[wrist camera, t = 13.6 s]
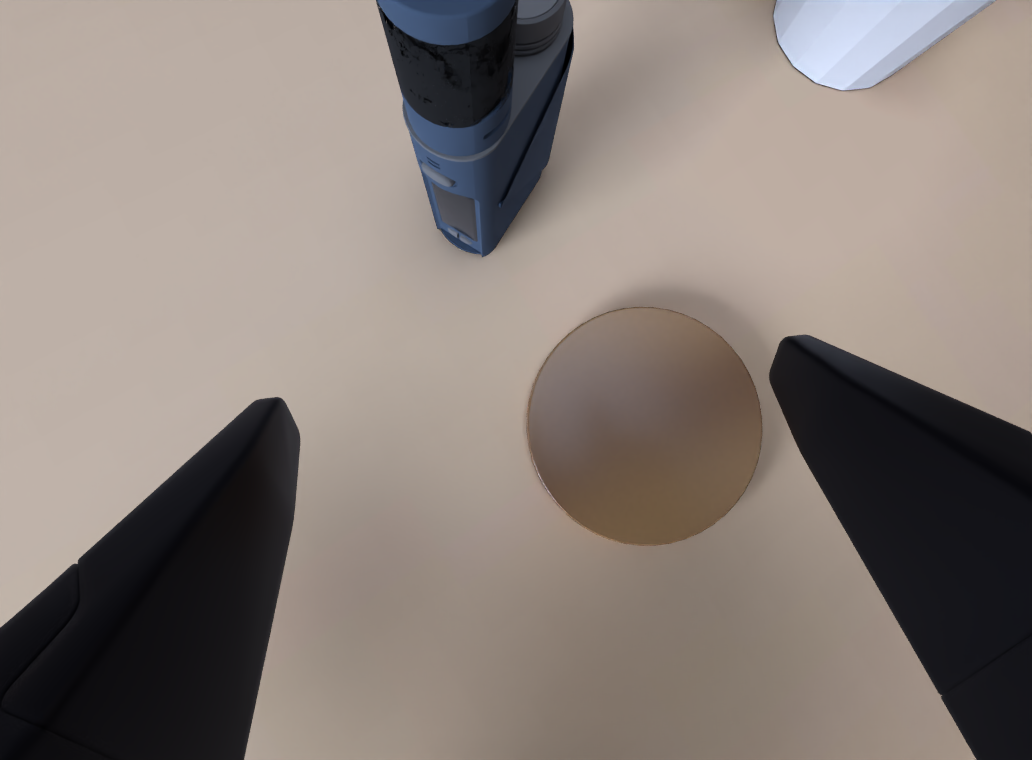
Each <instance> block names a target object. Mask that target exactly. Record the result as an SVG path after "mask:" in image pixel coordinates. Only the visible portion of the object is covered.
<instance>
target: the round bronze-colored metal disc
mask: <svg viewBox="0 0 1032 760" xmlns="http://www.w3.org/2000/svg"><path fill="white" fill-rule="evenodd" d="M527 436H528V445H529V449H530V453H531V457H532V461H533V464H534V466H535V469H536V471H537V474H538V476H539V478H540V480H541V481H542V483H543V485H544V487H545V488H546V490H547V491H548V493H549V494H550V495H551V497H552V498H553V499H554V501H555V502H556V503H557V504H558V506H559V507H560V508H561V509H562V510H563V511H564V512H565V513H566V514H567V515H568V516H570V517H571V518H572V519H573V520H575V521H576V522H577V523H578V524H580V525H581V526H583V527H585V528H586V529H588V530H590V531H591V532H593V533H595V534H597V535H600V536H602V537H604V538H607V539H609V540H613V541H617V542H620V543H624V544H632V545H639V546H655V545H662V544H669V543H673V542H677V541H681V540H684V539H687V538H689V537H691V536H694V535H696V534H698V533H700V532H702V531H704V530H705V529H707V528H709V527H710V526H712V525H713V524H715V523H716V522H717V521H718V520H720V519H721V518H722V517H723V516H725V515H726V514H727V512H728V511H729V510H730V509H731V508H732V507H733V506H734V505H735V504H736V503H737V501H738V500H739V498H740V497H741V496H742V494H743V493H744V491H745V490H746V488H747V486H748V484H749V482H750V480H751V478H752V476H753V473H754V471H755V468H756V465H757V462H758V458H759V454H760V449H761V441H762V415H761V408H760V402H759V399H758V395H757V392H756V388H755V386H754V383H753V381H752V379H751V376H750V374H749V372H748V370H747V369H746V367H745V365H744V364H743V362H742V360H741V359H740V358H739V356H738V355H737V354H736V352H735V351H734V350H733V348H732V347H731V346H730V345H729V344H728V343H727V342H726V341H725V340H724V339H723V338H722V337H721V336H719V335H718V334H717V333H716V332H714V331H713V330H712V329H710V328H709V327H707V326H706V325H704V324H702V323H701V322H699V321H697V320H696V319H693V318H691V317H689V316H686V315H684V314H681V313H678V312H675V311H671V310H668V309H661V308H654V307H632V308H623V309H619V310H615V311H611V312H607V313H605V314H602V315H599V316H597V317H594V318H592V319H591V320H589V321H587V322H585V323H583V324H582V325H580V326H579V327H577V328H576V329H575V330H573V331H572V332H571V333H569V334H568V335H567V336H566V337H565V338H564V339H563V340H562V341H561V342H560V343H559V344H558V345H557V346H556V347H555V348H554V350H553V351H552V352H551V353H550V355H549V356H548V357H547V359H546V360H545V362H544V364H543V365H542V367H541V369H540V371H539V373H538V375H537V377H536V380H535V382H534V384H533V388H532V391H531V395H530V398H529V404H528V411H527Z"/></svg>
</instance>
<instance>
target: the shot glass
mask: <svg viewBox="0 0 1032 760" xmlns="http://www.w3.org/2000/svg"><path fill="white" fill-rule="evenodd" d="M995 1H996V0H777V2H776V6H775V11H774V15H773V17H774V22H775V27H776V33H777V38H778V43H779V44H780V46H781V47H782V49H783V51H784V52H785V54H786V55H787V57H788V59H789V60H790V62H791V63H792V65H793V66H794V67H795V68H797V69H798V70H799V71H801V72H802V73H803V74H805V75H806V76H807V77H809V78H810V79H811V80H813V81H814V82H815V83H818V84H821V85H825V86H828V87H832V88H835V89H839V90H843V91H844V90H853V89H862V88H870V87H872V86H874V85H875V84H877V83H879V82H881V81H882V80H884V79H886V78H888V77H889V76H891V75H893V74H894V73H896V72H897V71H898V70H900V69H901V68H903V67H904V66H905V65H907V64H908V63H910V62H911V61H912V60H914V59H915V58H917V57H918V56H919V55H921V54H922V53H924V52H925V51H926V50H928V49H929V48H931V47H932V46H933V45H935V44H936V43H938V42H939V41H940V40H942V39H943V38H945V37H946V36H947V35H949V34H950V33H952V32H953V31H954V30H956V29H957V28H959V27H960V26H961V25H963V24H964V23H966V22H967V21H968V20H970V19H971V18H973V17H974V16H975V15H977V14H978V13H980V12H981V11H982V10H984V9H985V8H986V7H988V6H989V5H991V4H992V3H993V2H995Z"/></svg>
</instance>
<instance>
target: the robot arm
mask: <svg viewBox="0 0 1032 760" xmlns="http://www.w3.org/2000/svg"><path fill="white" fill-rule="evenodd" d="M769 380H770V384H771V386H772V389H773V391H774V393H775V396H776V398H777V400H778V403H779V405H780V407H781V409H782V412H783V414H784V416H785V419H786V421H787V423H788V426H789V428H790V430H791V433H792V435H793V437H794V439H795V442H796V444H797V446H798V448H799V450H800V452H801V454H802V456H803V458H804V460H805V461H806V463H807V465H808V467H809V468H810V470H811V472H812V474H813V475H814V477H815V479H816V481H817V482H818V484H819V486H820V488H821V489H822V491H823V493H824V495H825V496H826V498H827V500H828V501H829V503H830V505H831V507H832V508H833V510H834V512H835V514H836V515H837V517H838V519H839V521H840V522H841V524H842V526H843V528H844V529H845V531H846V533H847V535H848V536H849V538H850V540H851V541H852V543H853V545H854V547H855V548H856V550H857V552H858V554H859V555H860V557H861V559H862V561H863V562H864V564H865V566H866V568H867V569H868V571H869V573H870V575H871V576H872V578H873V580H874V581H875V583H876V585H877V587H878V588H879V590H880V592H881V594H882V595H883V597H884V599H885V601H886V602H887V604H888V606H889V608H890V609H891V611H892V613H893V615H894V616H895V618H896V620H897V621H898V623H899V625H900V627H901V628H902V630H903V632H904V634H905V635H906V637H907V639H908V641H909V642H910V644H911V646H912V648H913V649H914V651H915V653H916V654H917V656H918V658H919V660H920V661H921V663H922V665H923V667H924V668H925V670H926V672H927V674H928V675H929V677H930V679H931V681H932V682H933V684H934V686H935V688H936V689H937V691H938V693H939V694H940V695H942V696H941V699H942V700H943V702H944V704H945V706H946V707H947V709H948V711H949V713H950V714H951V716H952V718H953V719H954V721H955V723H956V725H957V726H958V728H959V730H960V732H961V733H962V735H963V737H964V739H965V740H966V742H967V744H968V746H969V747H970V749H971V751H972V752H973V754H974V756H975V758H976V759H977V760H1032V434H1031V433H1030V432H1029V431H1027V430H1025V429H1022V428H1020V427H1018V426H1016V425H1013V424H1011V423H1009V422H1006V421H1004V420H1002V419H1000V418H997V417H995V416H993V415H990V414H988V413H986V412H984V411H981V410H979V409H977V408H974V407H972V406H970V405H968V404H965V403H963V402H961V401H958V400H956V399H954V398H952V397H949V396H947V395H945V394H942V393H940V392H938V391H936V390H933V389H931V388H929V387H926V386H924V385H922V384H920V383H917V382H915V381H913V380H910V379H908V378H906V377H904V376H901V375H899V374H897V373H894V372H892V371H890V370H888V369H885V368H883V367H881V366H878V365H876V364H874V363H872V362H869V361H867V360H865V359H862V358H860V357H858V356H856V355H853V354H851V353H849V352H846V351H844V350H842V349H840V348H837V347H835V346H833V345H830V344H828V343H826V342H824V341H821V340H819V339H817V338H814V337H812V336H810V335H796V336H788V337H785V338H784V339H783V340H782V341H781V342H780V344H779V347H778V349H777V352H776V355H775V358H774V360H773V363H772V366H771V369H770V373H769ZM299 452H300V434H299V430H298V428H297V425H296V423H295V421H294V419H293V417H292V415H291V413H290V411H289V409H288V407H287V405H286V403H285V401H284V400H283V399H281V398H279V397H274V398H265V399H259V400H256V401H254V402H253V403H252V404H250V405H249V406H248V407H247V408H246V409H245V410H244V411H243V412H242V413H240V414H239V415H238V416H237V417H236V418H235V419H234V420H233V421H232V422H230V423H229V424H228V425H227V426H226V427H225V428H224V429H223V430H222V431H220V432H219V433H218V434H217V435H216V436H215V437H214V438H213V439H212V440H210V441H209V442H208V443H207V444H206V445H205V446H204V447H203V448H202V449H200V450H199V451H198V452H197V453H196V454H195V455H194V456H193V457H192V458H190V459H189V460H188V461H187V462H186V463H185V464H184V465H183V466H182V467H180V468H179V469H178V470H177V471H176V472H175V473H174V474H173V475H172V476H170V477H169V478H168V479H167V480H166V481H165V482H164V483H163V484H162V485H160V486H159V487H158V488H157V489H156V490H155V491H154V492H153V493H152V494H151V495H149V496H148V497H147V498H146V499H145V500H144V501H143V502H142V503H141V504H139V505H138V506H137V507H136V508H135V509H134V510H133V511H132V512H131V513H129V514H128V515H127V516H126V517H125V518H124V519H123V520H122V521H121V522H119V523H118V524H117V525H116V526H115V527H114V528H113V529H112V530H110V531H109V532H108V533H107V534H106V535H105V536H104V537H103V538H102V539H100V540H99V541H98V542H97V543H96V544H95V545H94V546H93V547H92V548H90V549H89V550H88V551H87V552H86V553H85V554H84V555H83V556H82V557H80V558H79V560H78V564H73V565H71V566H70V567H69V568H68V569H67V570H66V571H65V572H64V573H63V574H61V575H60V576H59V577H58V578H57V579H56V580H55V581H54V582H53V583H51V584H50V585H49V586H48V587H47V588H46V589H45V590H43V591H42V592H41V593H40V594H39V595H38V596H37V597H35V598H34V599H33V600H32V601H31V602H30V603H29V604H27V605H26V606H25V607H24V608H23V609H22V610H21V611H19V612H18V613H17V614H16V615H15V616H14V617H13V618H11V619H10V620H9V621H8V622H7V623H5V624H4V625H3V626H2V627H1V628H0V760H244V757H245V752H246V747H247V742H248V738H249V733H250V728H251V723H252V718H253V714H254V709H255V704H256V699H257V694H258V690H259V685H260V680H261V675H262V670H263V666H264V661H265V656H266V651H267V646H268V642H269V637H270V632H271V627H272V622H273V618H274V613H275V608H276V603H277V598H278V594H279V589H280V584H281V579H282V574H283V570H284V565H285V560H286V555H287V550H288V546H289V541H290V536H291V531H292V526H293V520H294V511H295V501H296V489H297V477H298V464H299Z"/></svg>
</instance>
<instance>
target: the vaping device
mask: <svg viewBox="0 0 1032 760" xmlns="http://www.w3.org/2000/svg"><path fill="white" fill-rule="evenodd" d="M376 2H377V6H378V9H379V13H380V17H381V20H382V24H383V28H384V31H385V35H386V38H387V42H388V46H389V49H390V53H391V56H392V60H393V64H394V67H395V71H396V75H397V78H398V82H399V85H400V89H401V93H402V96H403V116H404V119H405V123H406V126H407V128H408V130H409V133H410V136H411V140H412V143H413V147H414V150H415V154H416V157H417V161H418V164H419V167H420V169H421V173H422V176H423V180H424V183H425V187H426V190H427V194H428V197H429V201H430V204H431V208H432V211H433V215H434V218H435V222H436V225H437V229H441V230H442V232H443V234H444V235H445V237H446V238H447V239H448V240H449V241H450V242H451V243H452V244H454V245H455V246H457V247H458V248H460V249H462V250H464V251H467V252H470V253H475V254H481V255H482V257H483V256H486V255H487V254H489V253H490V252H492V251H493V250H494V248H495V247H496V245H497V244H498V242H499V241H500V239H501V238H502V236H503V235H504V233H505V231H506V230H507V228H508V227H509V225H510V224H511V222H512V221H513V219H514V218H515V216H516V214H517V213H518V211H519V210H520V208H521V207H522V205H523V204H524V202H525V200H526V199H527V197H528V196H529V194H530V193H531V191H532V190H533V188H534V186H535V185H536V183H537V182H538V180H539V178H540V176H541V172H542V169H543V168H545V167H546V165H547V163H548V161H549V157H550V152H551V148H552V143H553V139H554V135H555V130H556V126H557V121H558V117H559V112H560V108H561V104H562V99H563V95H564V90H565V86H566V81H567V77H568V73H569V68H570V64H571V59H572V55H573V50H574V32H573V11H572V7H571V5H570V2H569V0H376ZM379 7H381V8H379ZM383 13H384V14H383ZM386 20H387V23H386ZM392 22H393V23H392ZM394 29H395V30H394Z"/></svg>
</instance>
